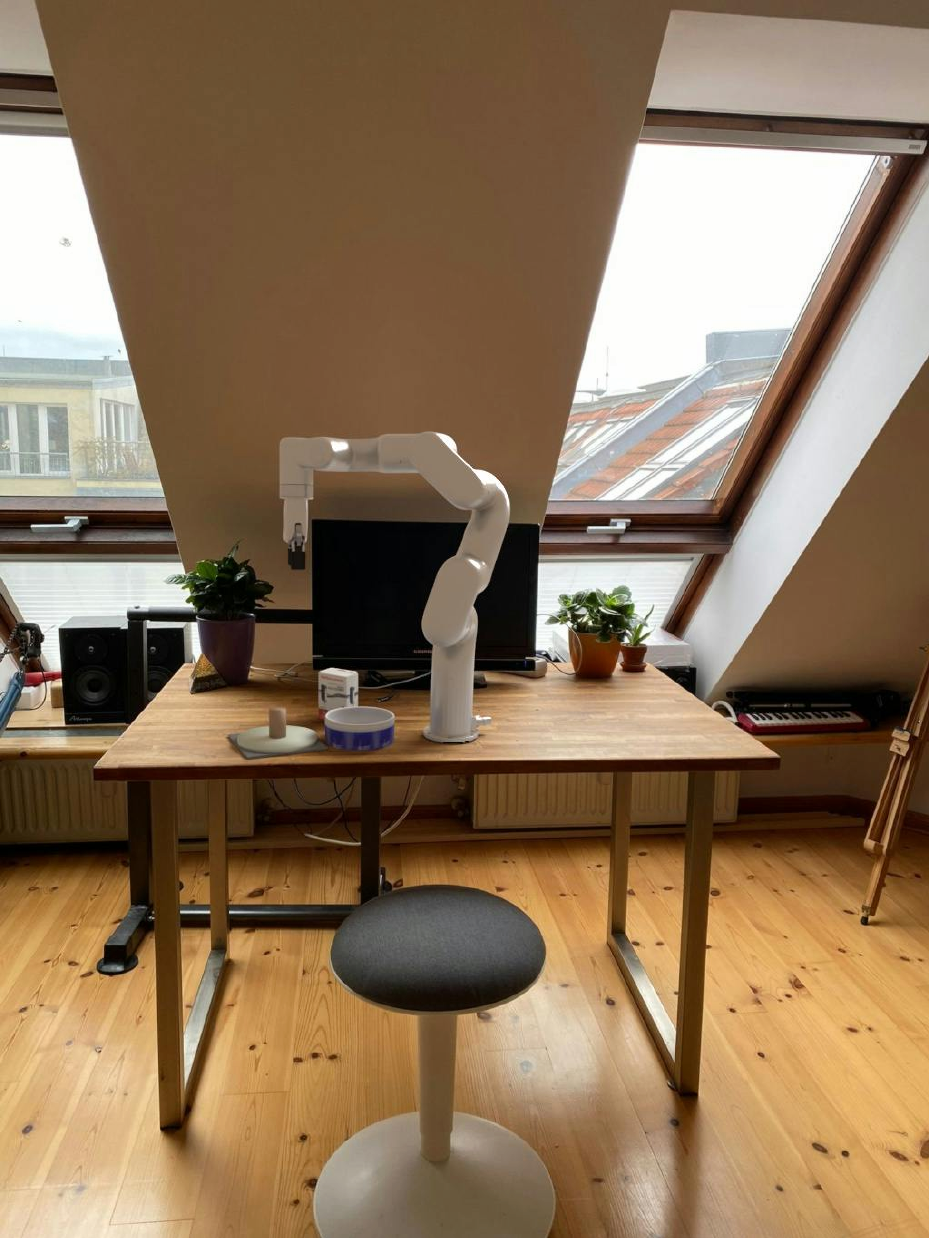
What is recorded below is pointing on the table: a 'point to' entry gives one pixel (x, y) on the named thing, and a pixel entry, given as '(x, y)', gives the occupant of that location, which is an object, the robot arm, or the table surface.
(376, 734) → the dog bowl
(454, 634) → the robot arm
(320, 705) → the ink box
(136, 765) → the table surface
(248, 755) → the mat
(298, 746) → the lid
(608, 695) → the table surface
